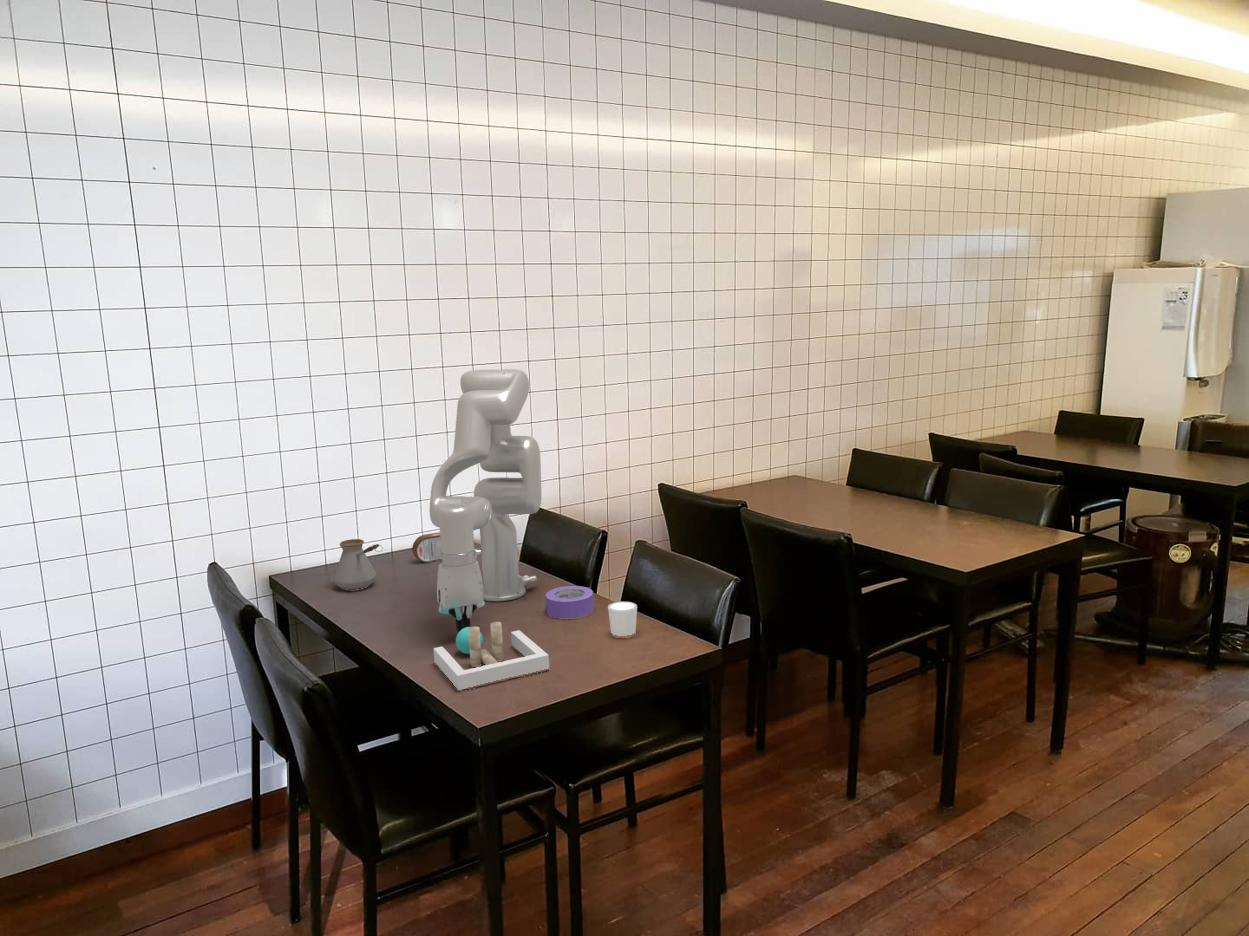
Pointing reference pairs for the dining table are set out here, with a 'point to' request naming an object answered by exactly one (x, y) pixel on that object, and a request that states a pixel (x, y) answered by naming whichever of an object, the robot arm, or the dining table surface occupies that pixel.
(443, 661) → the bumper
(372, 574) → the coffee pot
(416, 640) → the dining table surface
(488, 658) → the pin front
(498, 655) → the pin
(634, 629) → the white cup
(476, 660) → the pin
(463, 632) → the ball
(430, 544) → the tin
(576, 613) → the tape roll
